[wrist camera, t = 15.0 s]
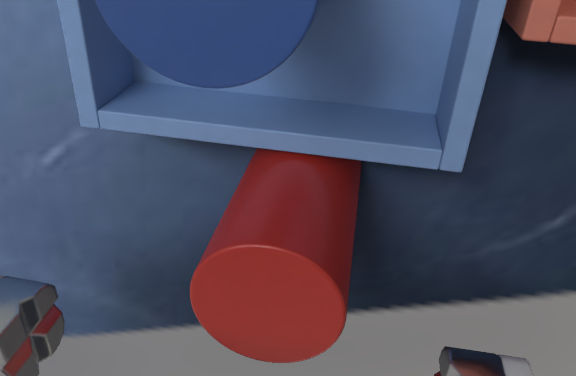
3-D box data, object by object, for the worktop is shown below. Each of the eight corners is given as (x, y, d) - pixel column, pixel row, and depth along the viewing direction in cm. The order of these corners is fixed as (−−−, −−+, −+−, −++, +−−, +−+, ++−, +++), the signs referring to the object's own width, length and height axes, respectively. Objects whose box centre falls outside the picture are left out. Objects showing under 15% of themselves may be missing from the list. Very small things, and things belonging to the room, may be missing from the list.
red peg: (368, 121, 16) (355, 258, 10) (354, 213, 18) (337, 376, 12) (257, 108, 16) (183, 234, 10) (256, 200, 18) (192, 350, 12)
